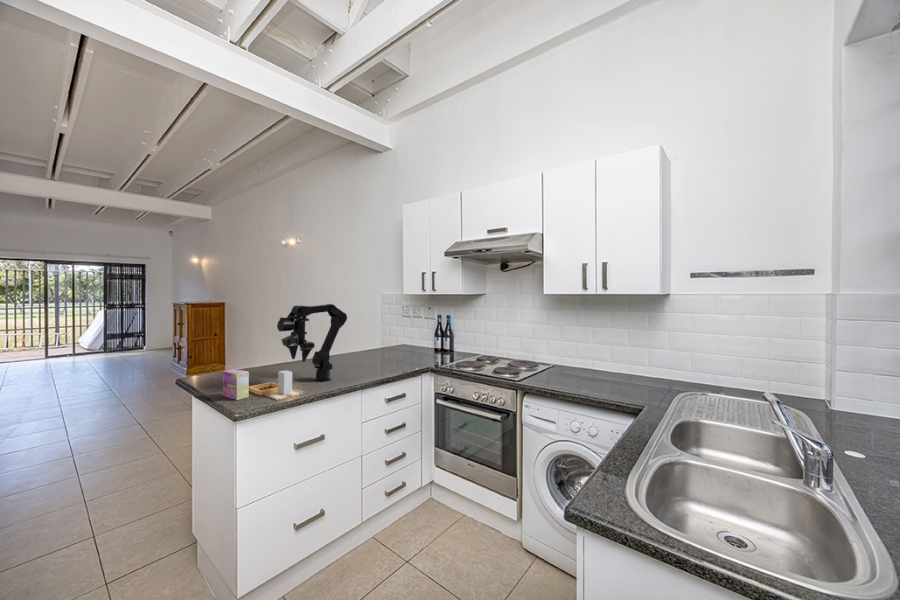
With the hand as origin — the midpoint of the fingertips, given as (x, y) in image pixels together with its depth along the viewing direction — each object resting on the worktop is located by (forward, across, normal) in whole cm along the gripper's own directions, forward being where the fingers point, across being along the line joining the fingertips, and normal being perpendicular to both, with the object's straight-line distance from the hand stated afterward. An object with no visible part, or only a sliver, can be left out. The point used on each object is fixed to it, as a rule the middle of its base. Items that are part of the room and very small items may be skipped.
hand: (298, 360), depth 187 cm
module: (+12, +10, -13) cm, 20 cm away
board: (+13, +10, -13) cm, 21 cm away
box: (+13, -3, -29) cm, 32 cm away
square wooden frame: (+13, -3, -15) cm, 20 cm away
